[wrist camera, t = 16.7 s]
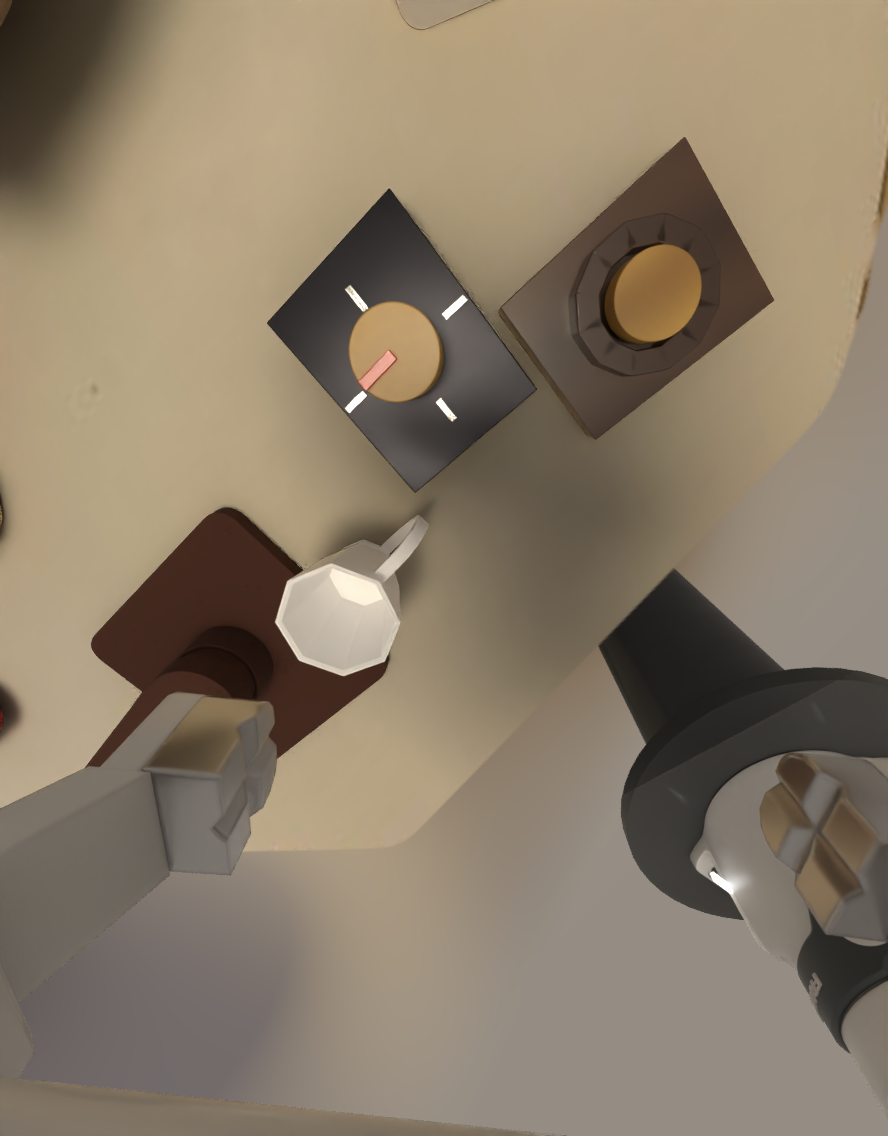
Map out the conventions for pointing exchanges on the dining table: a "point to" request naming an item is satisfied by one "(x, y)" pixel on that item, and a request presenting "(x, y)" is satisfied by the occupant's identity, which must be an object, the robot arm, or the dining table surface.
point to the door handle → (220, 635)
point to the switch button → (653, 294)
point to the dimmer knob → (395, 352)
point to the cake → (0, 517)
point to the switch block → (584, 270)
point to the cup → (348, 603)
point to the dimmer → (471, 347)
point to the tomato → (1, 719)
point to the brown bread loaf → (4, 9)
